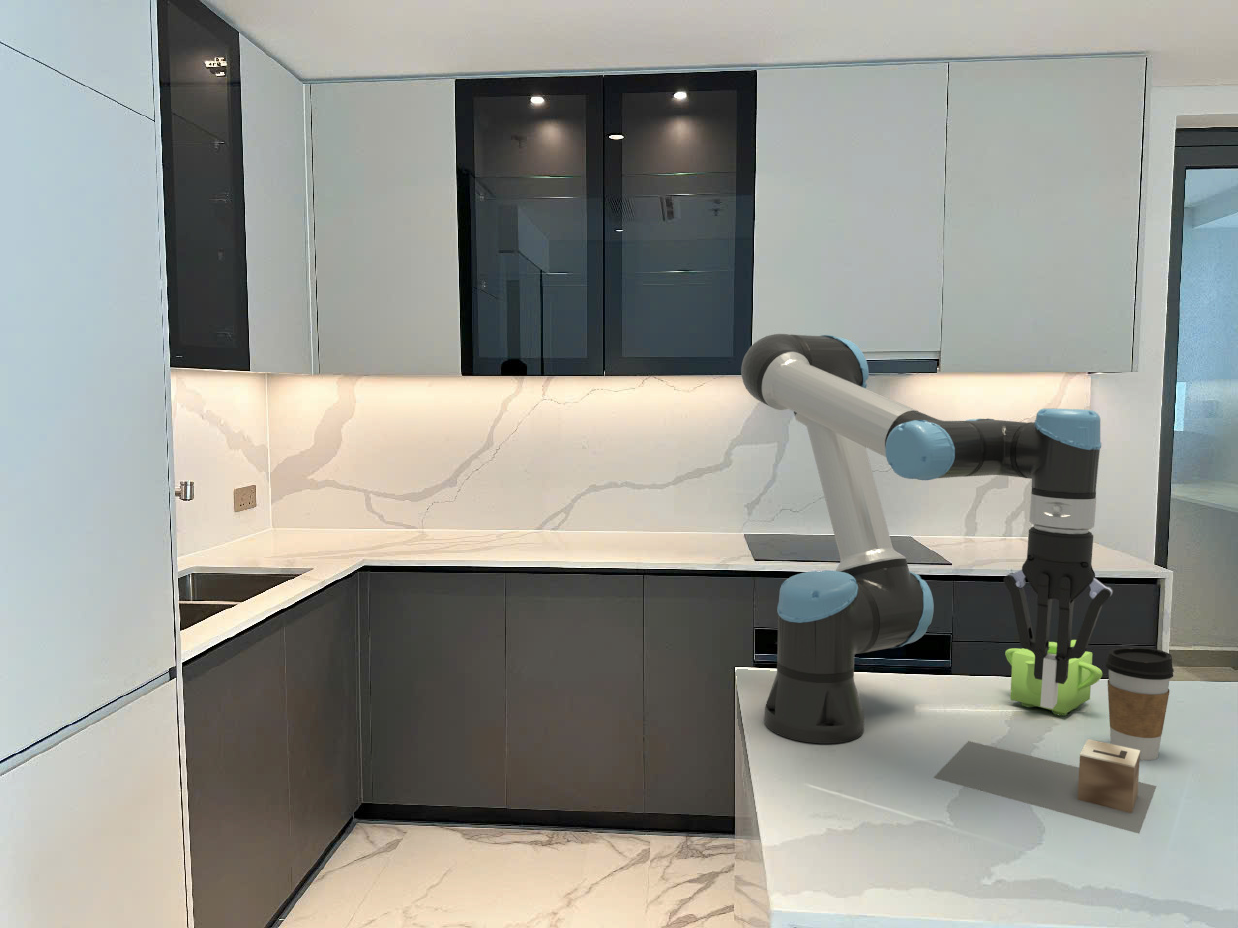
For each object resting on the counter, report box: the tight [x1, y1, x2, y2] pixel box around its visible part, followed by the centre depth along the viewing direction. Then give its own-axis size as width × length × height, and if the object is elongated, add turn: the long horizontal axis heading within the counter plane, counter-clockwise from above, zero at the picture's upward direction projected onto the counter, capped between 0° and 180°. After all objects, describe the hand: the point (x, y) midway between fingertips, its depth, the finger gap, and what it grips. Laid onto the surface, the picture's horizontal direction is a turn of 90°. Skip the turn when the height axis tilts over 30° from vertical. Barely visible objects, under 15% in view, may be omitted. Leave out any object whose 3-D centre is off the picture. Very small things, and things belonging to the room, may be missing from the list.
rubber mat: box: [933, 740, 1157, 835], centre depth 117 cm, size 24×16×1 cm, turn 53°
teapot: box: [1005, 639, 1103, 716], centre depth 147 cm, size 15×13×11 cm
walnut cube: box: [1078, 738, 1141, 813], centre depth 113 cm, size 6×6×6 cm
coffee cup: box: [1105, 647, 1175, 761], centre depth 127 cm, size 8×8×15 cm
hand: (1048, 704), depth 117 cm, fingers closed
